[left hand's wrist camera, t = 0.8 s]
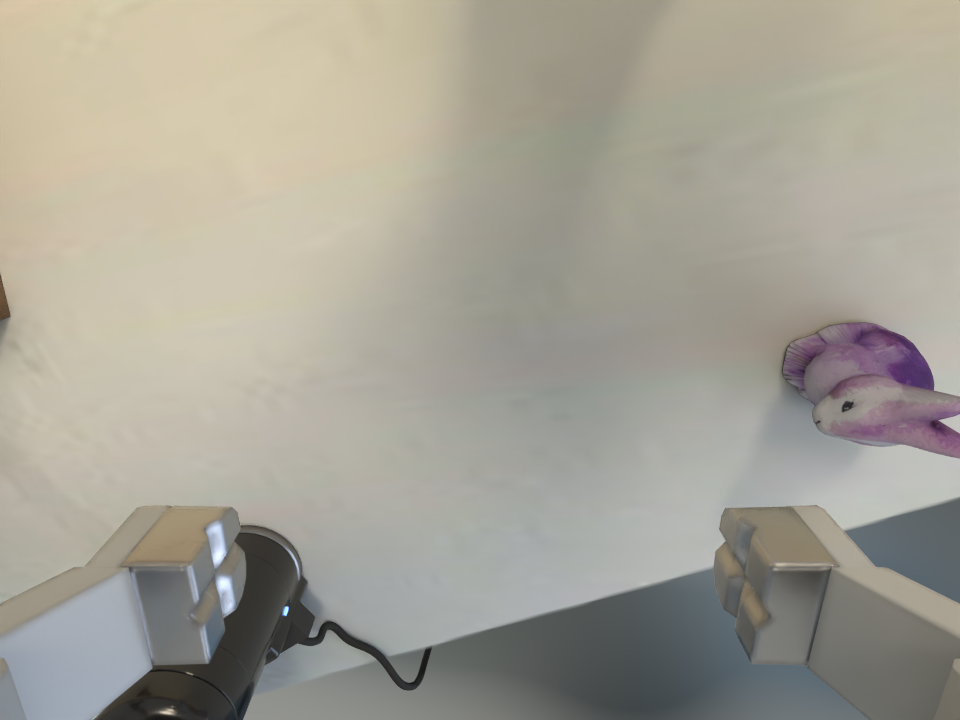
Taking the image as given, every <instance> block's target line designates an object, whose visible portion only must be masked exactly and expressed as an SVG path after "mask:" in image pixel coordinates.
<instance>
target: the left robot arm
mask: <svg viewBox="0 0 960 720" xmlns="http://www.w3.org/2000/svg"><path fill="white" fill-rule="evenodd" d="M240 530H241V528H240V523H239V518H238V513H237V511H236V510H235V509H234V508H233V507H204V506H173V507H172V506H143V507H139V508H137V509H136V510H135V511H134V512H133V513H132V514H131V515H130V516H129V517H128V518H127V520H126V521H125V522H124V523H123V524H122V525H121V526H120V527H119V529H118V530H117V531H116V532H115V533H114V534H113V535H112V536H111V538H110V539H109V540H108V541H107V542H106V543H105V544H104V545H103V546H102V548H101V549H100V550H99V551H98V552H97V553H96V554H95V555H94V557H93V558H92V559H91V560H90V561H89V562H88V563H87V564H86V566H85V567H74V568H72V569H70V570H68V571H66V572H64V573H62V574H60V575H58V576H56V577H54V578H52V579H49V580H47V581H45V582H43V583H41V584H39V585H37V586H35V587H33V588H31V589H29V590H27V591H25V592H23V593H21V594H19V595H17V596H15V597H13V598H11V599H9V600H7V601H5V602H3V603H1V604H0V720H91V719H92V718H93V717H95V716H96V715H97V714H98V713H100V712H101V711H102V710H103V709H104V708H106V707H107V706H108V705H109V704H110V703H112V702H113V701H114V700H115V699H116V698H118V697H119V696H120V695H121V694H122V693H124V692H125V691H126V690H127V689H128V688H130V687H131V686H132V685H133V684H134V683H136V682H137V681H138V680H139V679H140V678H142V677H143V676H144V675H145V674H146V673H148V672H149V671H150V670H151V669H152V668H153V667H152V665H181V664H209V662H210V660H211V658H212V656H213V654H214V652H215V650H216V648H217V646H218V644H219V642H220V640H221V638H222V636H223V634H224V632H225V625H224V619H223V618H225V617H226V616H227V615H229V614H230V613H232V612H233V611H235V610H236V608H237V606H238V604H239V602H240V600H241V598H242V595H243V590H244V586H245V581H246V559H245V552H244V551H243V550H242V549H241V548H240V547H239V545H238V544H237V543H236V542H235V541H234V540H235V538H236V537H237V535H238V533H239V531H240ZM719 530H720V531H721V533H722V535H723V537H724V538H725V540H726V541H725V542H724V543H723V544H722V545H721V547H720V548H719V549H718V550H717V551H716V552H715V560H714V568H713V569H714V580H715V587H716V591H717V594H718V598H719V600H720V602H721V604H722V606H723V608H724V610H726V611H727V612H728V613H730V614H731V615H733V616H734V617H735V618H737V619H736V625H735V632H736V634H737V636H738V638H739V640H740V642H741V644H742V646H743V648H744V650H745V652H746V654H747V656H748V658H749V660H750V662H751V663H752V664H779V665H808V667H807V668H808V669H809V670H810V671H812V672H813V673H814V674H815V675H816V676H818V677H819V678H820V679H821V680H822V681H824V682H825V683H826V684H827V685H828V686H830V687H831V688H832V689H833V690H834V691H836V692H837V693H838V694H839V695H840V696H841V697H843V698H844V699H845V700H846V701H847V702H849V703H850V704H851V705H852V706H853V707H855V708H856V709H857V710H858V711H859V712H861V713H862V714H863V715H864V716H865V717H867V718H868V719H869V720H960V604H959V603H957V602H955V601H953V600H951V599H949V598H947V597H945V596H943V595H941V594H939V593H937V592H935V591H933V590H931V589H929V588H927V587H925V586H923V585H921V584H918V583H916V582H914V581H912V580H910V579H908V578H906V577H904V576H902V575H900V574H898V573H896V572H894V571H892V570H890V569H888V568H886V567H875V566H874V564H873V563H872V562H871V561H870V560H869V559H868V558H867V557H866V556H865V554H864V553H863V552H862V551H861V550H860V549H859V548H858V547H857V545H856V544H855V543H854V542H853V541H852V540H851V539H850V538H849V536H848V535H847V534H846V533H845V532H844V531H843V530H842V529H841V527H840V526H839V525H838V524H837V523H836V522H835V521H834V520H833V518H832V517H831V516H830V515H829V514H828V513H827V512H826V511H825V510H824V509H823V508H821V507H819V506H817V505H811V506H786V507H750V508H725V510H724V512H723V514H722V516H721V522H720V527H719Z"/></svg>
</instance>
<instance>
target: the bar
mask: <svg viewBox="0 0 960 720" xmlns="http://www.w3.org/2000/svg"><path fill="white" fill-rule="evenodd" d="M7 317H10V313H9V309H8V305H7V301H6V297H5V293H4V289H3V285H2V281H1V277H0V320H2V319H5V318H7Z"/></svg>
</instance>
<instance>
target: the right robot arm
mask: <svg viewBox="0 0 960 720" xmlns="http://www.w3.org/2000/svg"><path fill="white" fill-rule="evenodd" d="M240 528H241V530H240V531H239V533H238V535H237V537H236V538H235V540H234V541H235V542H236V543H237V544H238V545H239V547H240V548H241V549H242V550H243V551H244V552H245V559H246V581H245V586H244V590H243V595H242V598H241V600H240V602H239V604H238V606H237V608H236V610H235V611H233V612H232V613H230V614H229V615H227V616H226V617H225V618H223V619H224V625H225V632H224V634H223V636H222V638H221V640H220V642H219V644H218V646H217V648H216V650H215V652H214V654H213V656H212V658H211V660H210V662H209V664H181V665H152V667H153V668H152V669H151V670H150V671H149V672H148V673H146V674H145V675H144V676H143V677H142V678H140V679H139V680H138V681H137V682H136V683H134V684H133V685H132V686H131V687H130V688H128V689H127V690H126V691H125V692H124V693H122V694H121V695H120V696H119V697H118V698H116V699H115V700H114V701H113V702H112V703H110V704H109V705H108V706H107V707H106V708H104V709H103V710H102V711H101V712H100V713H99V714H98V716H97V717H96V718H95V719H94V720H243V718H244V715H245V713H246V710H247V708H248V705H249V703H250V700H251V698H252V695H253V693H254V690H255V688H256V685H257V683H258V680H259V678H260V675H261V673H262V670H263V668H264V666H265V665H267V664H268V663H270V662H272V661H273V660H275V659H276V658H277V657H278V656H279V655H280V653H282V652H283V651H285V650H287V649H288V648H290V647H292V646H294V645H295V644H297V643H298V644H302V645H306V646H314V645H317V644H319V643H321V642H322V641H323V639H324V637H325V634H326V631H327V630H332V631H333V632H335V633H336V634H337V635H338V636H339V637H340V638H341V639H342V640H343V641H344V642H345V643H347V644H349V645H351V646H353V647H355V648H358V649H360V650H363V651H365V652H367V653H369V654H371V655H372V656H373V657H375V658H376V659H377V660H378V661H379V662H380V663H381V664H382V666H383V667H384V668H385V670H386V671H387V672H388V674H389V675H390V677H391V678H392V680H393V681H394V682H395V683H396V684H397V686H399V687H400V688H401V689H403V690H414V689H416V688H417V687H418V686H419V685H420V684H421V682H422V680H423V678H424V675H425V671H426V667H427V664H428V660H429V657H430V653H431V650H432V646H429V647H426V648H425V652H424V655H423V658H422V662H421V665H420V669H419V672H418V675H417V677H416V679H415V680H414V681H413V682H411V683H407V682H405V681H403V680H402V679H401V678H400V677H399V675H398V674H397V673H396V671H395V670H394V668H393V667H392V666H391V664H390V663H389V661H388V660H387V659H386V658H385V656H384V655H383V654H382V653H381V652H379V651H378V650H377V649H376V648H374V647H372V646H370V645H368V644H366V643H364V642H361V641H359V640H356V639H354V638H352V637H351V636H349V635H348V634H347V633H346V632H345V631H344V630H343V629H342V628H341V627H340V626H338V625H337V624H335V623H333V622H326V623H324V624H322V626H321V627H320V630H319V633H318V635H317V636H316V637H314V638H309V637H308V636H309V634H310V631H311V628H312V625H313V622H314V619H315V617H314V615H313V614H312V613H311V612H310V611H309V610H308V609H307V608H306V607H305V606H304V605H303V604H302V603H301V602H300V600H301V598H302V595H303V592H304V590H305V587H306V584H307V581H306V580H305V579H304V578H303V577H302V575H301V574H302V568H301V562H300V559H299V556H298V554H297V552H296V551H295V549H294V548H293V547H292V545H291V544H290V543H289V542H288V541H287V540H285V539H284V538H283V537H281V536H280V535H278V534H277V533H275V532H273V531H270V530H268V529H265V528H261V527H255V526H240Z"/></svg>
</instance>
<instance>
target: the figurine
mask: <svg viewBox="0 0 960 720" xmlns="http://www.w3.org/2000/svg"><path fill="white" fill-rule="evenodd" d="M786 352H787V353H786V356H785V362H784V365H783V374H784V378H785V379H786V380H787V381H788V382H789V383H790V384H792V385H794V386H797V388H798V391H799V394H800V395H801V396H802V397H803V398H806V399H808V400H810V401H811V402H812V403H813V404H814V405H815V407H814V409H813V413H812V417H813V421H814V423H815V425H816V427H817V428H818V430H819V431H821V432H822V433H824V434H826V435H829V436H833V437H838V438H842V439H845V440H849V441H852V442H855V443H859V444H863V445H870V446H879V447H886V446H895V445H900V444H902V445H909V446H912V447H916V448H919V449H922V450H926V451H929V452H933V453H937V454H941V455H945V456H950V457H955V458H960V434H959V433H958V432H956V431H954V430H953V429H951V428H949V427H948V426H946V425H945V424H943V423H941V422H940V421H938V420H941V419H945V418H949V417H953V416H956V415H959V414H960V397H959V396H955V395H950V394H946V393H942V392H937V391H934V380H933V375H932V373H931V370H930V368H929V366H928V364H927V362H926V360H925V359H924V357H923V356H922V355H921V353H920V352H919V351H918V349H917V348H916V347H915V345H914V344H913V343H912V342H910V341H909V340H908V339H907V338H905V337H904V336H902V335H899V334H897V333H894V332H891V331H889V330H887V329H885V328H883V327H881V326H879V325H876V324H872V323H843V324H837V325H832V326H830V325H829V326H828V327H826V328H824V329H822V330H820V331H819V332H817V333H816V334H814V335H811V336H809V337H805V338H801V339H798V340H796V341H794V342H792V343H791V344H790V345H789V347H788V348H787V351H786Z"/></svg>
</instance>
